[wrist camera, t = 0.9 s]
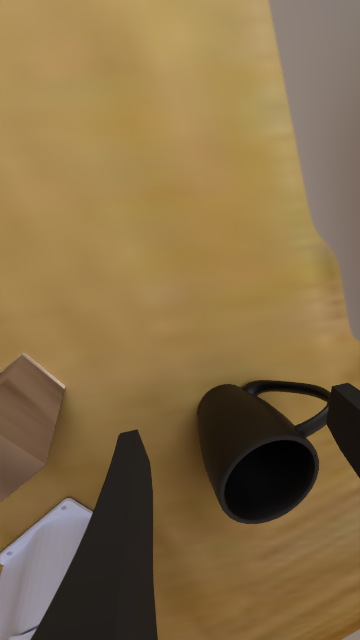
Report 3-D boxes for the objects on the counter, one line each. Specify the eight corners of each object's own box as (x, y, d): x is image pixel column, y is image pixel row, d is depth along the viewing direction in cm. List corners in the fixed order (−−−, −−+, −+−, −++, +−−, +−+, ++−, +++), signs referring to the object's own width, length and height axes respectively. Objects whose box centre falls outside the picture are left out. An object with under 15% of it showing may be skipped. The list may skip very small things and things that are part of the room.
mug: (298, 380, 32) (373, 440, 23) (216, 453, 32) (259, 540, 23) (258, 330, 28) (327, 377, 20) (168, 412, 29) (196, 494, 20)
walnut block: (26, 419, 25) (-12, 513, 17) (-19, 387, 24) (-85, 475, 15) (65, 386, 25) (45, 464, 17) (23, 352, 24) (-21, 420, 15)
